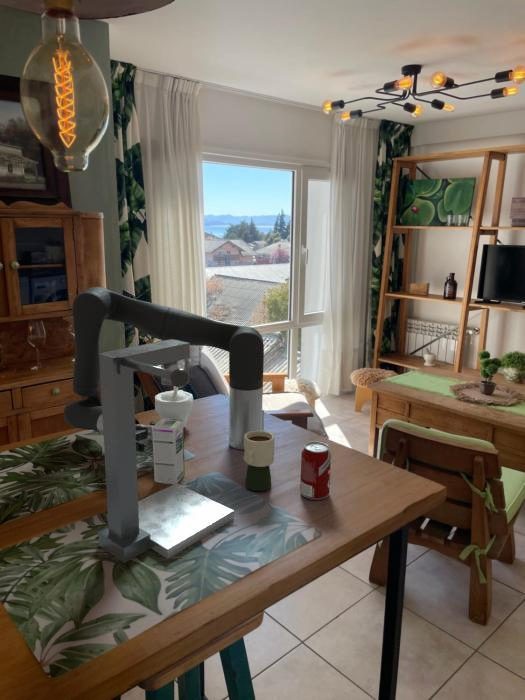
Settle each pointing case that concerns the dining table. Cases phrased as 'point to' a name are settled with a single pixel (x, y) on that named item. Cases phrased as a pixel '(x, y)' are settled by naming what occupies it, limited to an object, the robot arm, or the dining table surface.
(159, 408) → the mortar and pestle
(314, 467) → the soda can
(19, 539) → the dining table surface
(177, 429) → the syrup box
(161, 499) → the bench press
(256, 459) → the character mug
